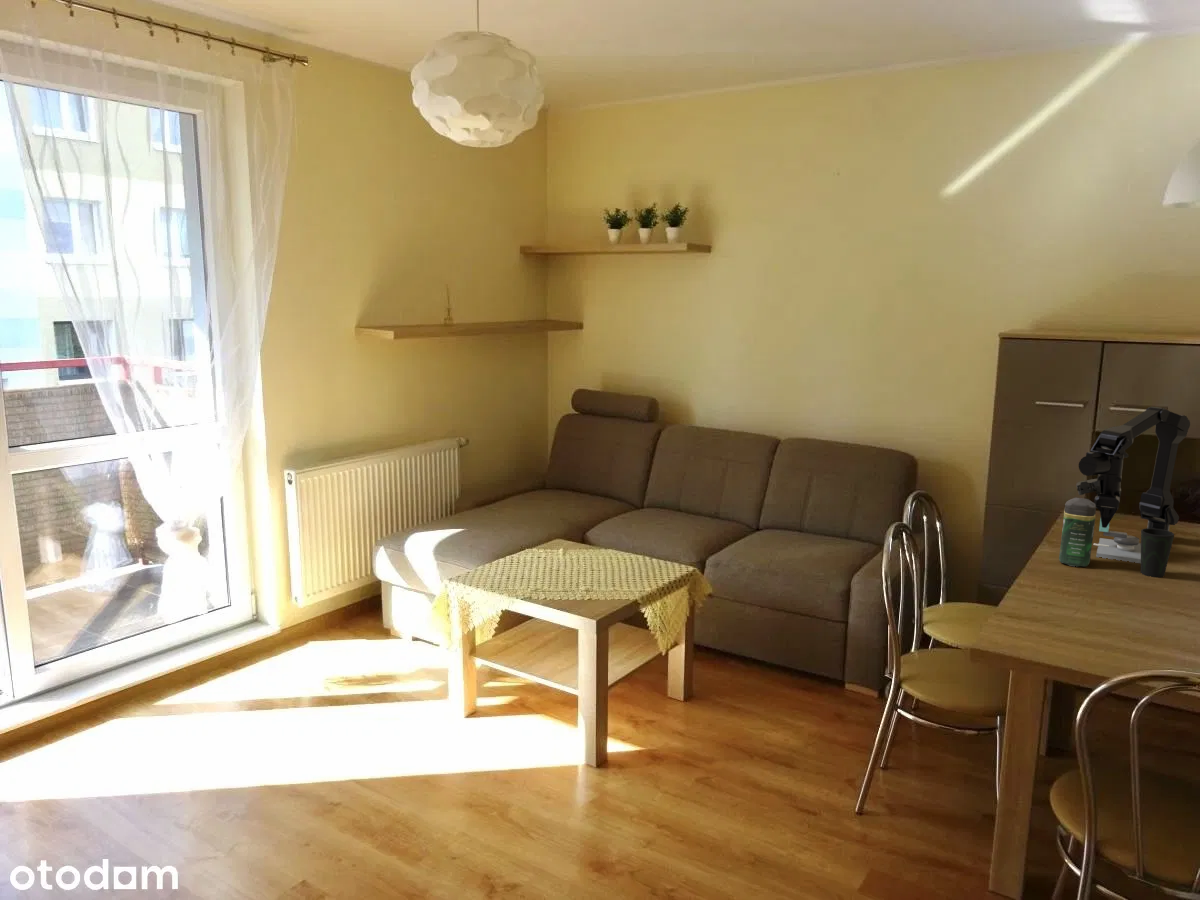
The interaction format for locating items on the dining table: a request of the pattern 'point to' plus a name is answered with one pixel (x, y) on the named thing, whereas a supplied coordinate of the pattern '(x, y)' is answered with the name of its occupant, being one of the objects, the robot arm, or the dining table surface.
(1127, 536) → the handle
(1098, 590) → the dining table surface
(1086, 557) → the coffee jar
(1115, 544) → the base
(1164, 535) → the cup
